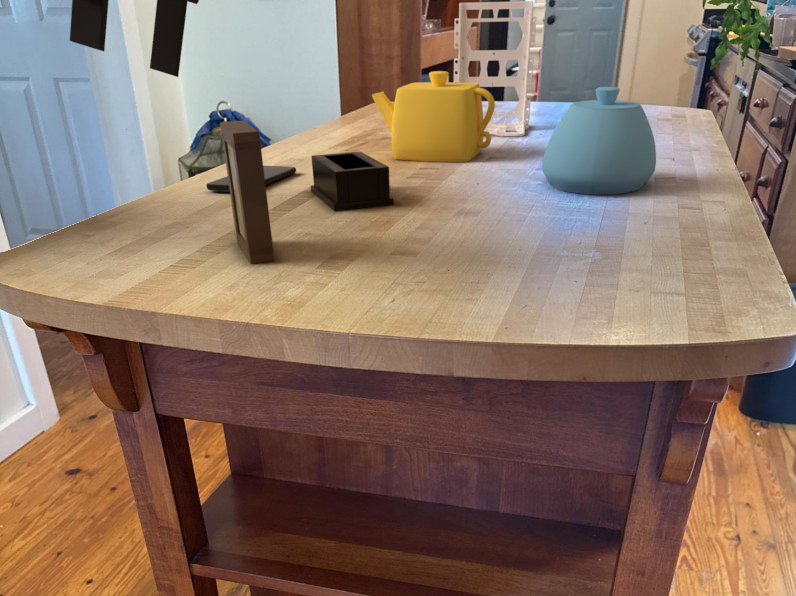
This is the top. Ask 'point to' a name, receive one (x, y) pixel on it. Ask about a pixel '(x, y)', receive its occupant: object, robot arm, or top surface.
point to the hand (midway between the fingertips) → (128, 61)
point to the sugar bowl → (601, 147)
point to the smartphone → (269, 173)
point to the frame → (247, 190)
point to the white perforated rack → (502, 55)
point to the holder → (350, 181)
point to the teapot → (437, 120)
